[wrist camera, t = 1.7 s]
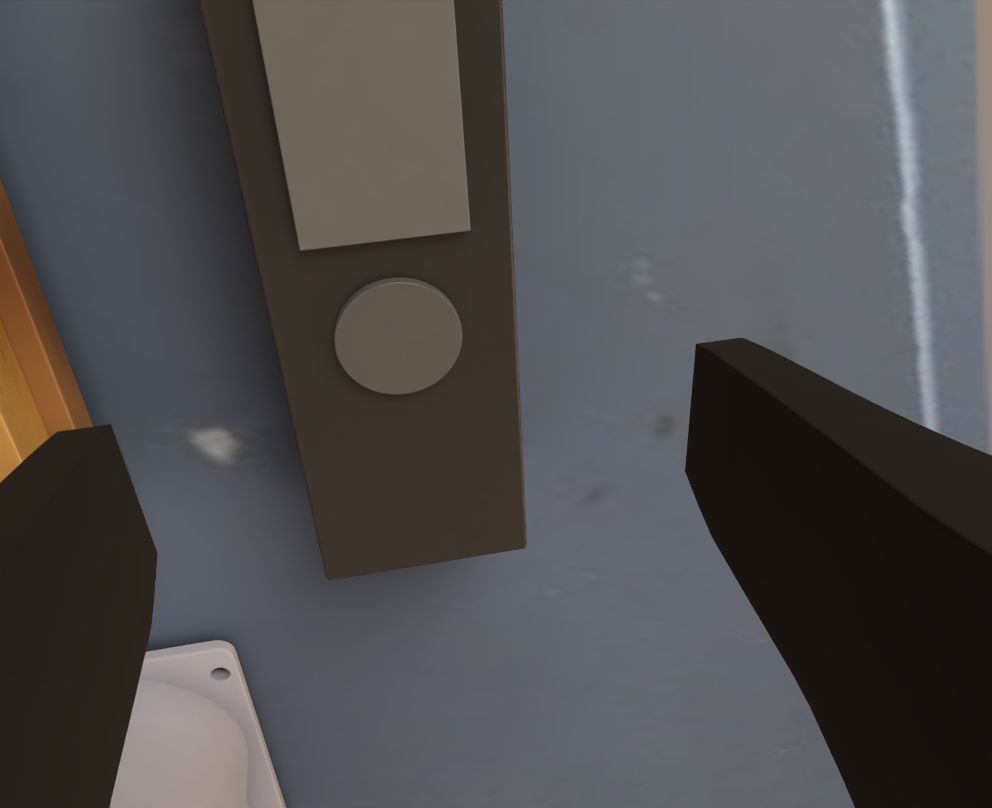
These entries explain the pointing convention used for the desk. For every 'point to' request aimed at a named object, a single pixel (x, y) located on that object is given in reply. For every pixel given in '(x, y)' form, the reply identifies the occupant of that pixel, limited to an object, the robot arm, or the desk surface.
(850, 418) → the robot arm
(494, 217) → the remote
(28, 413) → the footstool
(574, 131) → the desk surface
